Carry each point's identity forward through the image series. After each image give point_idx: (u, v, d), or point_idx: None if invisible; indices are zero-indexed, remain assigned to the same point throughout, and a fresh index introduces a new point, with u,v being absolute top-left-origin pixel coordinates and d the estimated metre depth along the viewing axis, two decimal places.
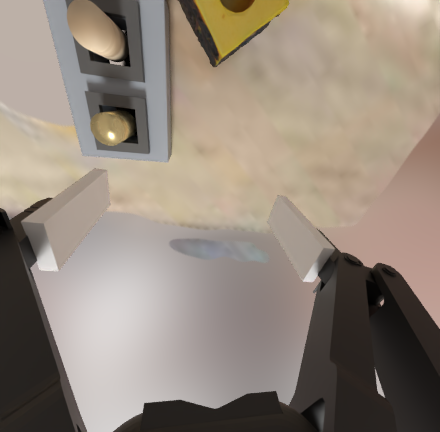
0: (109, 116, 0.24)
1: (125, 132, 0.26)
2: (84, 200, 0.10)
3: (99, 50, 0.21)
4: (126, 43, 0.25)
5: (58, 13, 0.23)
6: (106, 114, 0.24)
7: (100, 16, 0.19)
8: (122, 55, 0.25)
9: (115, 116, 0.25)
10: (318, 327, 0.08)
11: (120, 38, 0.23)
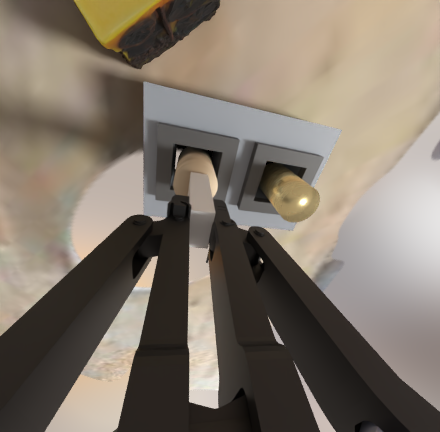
0: (286, 197, 0.18)
1: (305, 183, 0.18)
2: None
3: (217, 182, 0.17)
4: (196, 148, 0.21)
5: None
6: (283, 200, 0.18)
7: (187, 170, 0.16)
8: (208, 156, 0.21)
9: (285, 190, 0.18)
10: (219, 302, 0.08)
11: (197, 153, 0.19)
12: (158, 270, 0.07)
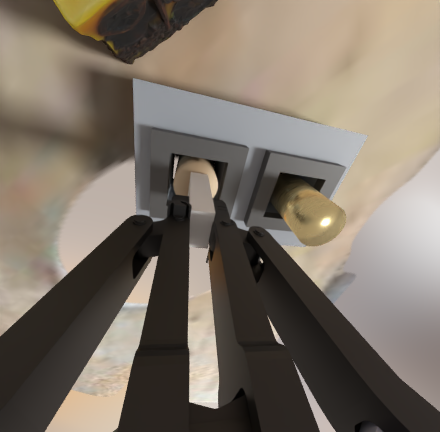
0: (306, 219, 0.14)
1: (329, 200, 0.15)
2: None
3: (217, 182, 0.17)
4: None
5: None
6: (302, 222, 0.15)
7: (187, 170, 0.16)
8: None
9: (305, 209, 0.15)
10: (219, 302, 0.08)
11: None
12: (158, 270, 0.07)
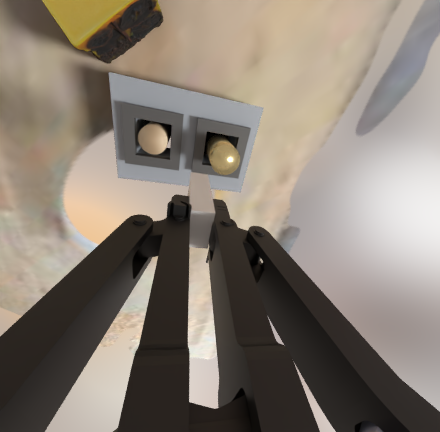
0: (214, 154, 0.25)
1: (229, 144, 0.25)
2: None
3: (166, 137, 0.27)
4: None
5: (142, 172, 0.31)
6: (212, 156, 0.25)
7: (146, 129, 0.26)
8: (166, 126, 0.31)
9: (214, 149, 0.25)
10: (219, 302, 0.08)
11: (156, 122, 0.29)
12: (158, 270, 0.07)
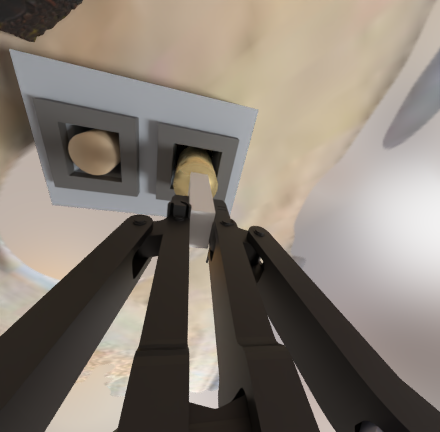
0: (177, 177, 0.16)
1: (201, 162, 0.17)
2: None
3: (112, 152, 0.18)
4: None
5: (86, 198, 0.22)
6: (175, 180, 0.17)
7: (79, 139, 0.17)
8: None
9: (178, 169, 0.17)
10: (219, 302, 0.08)
11: None
12: (158, 270, 0.07)
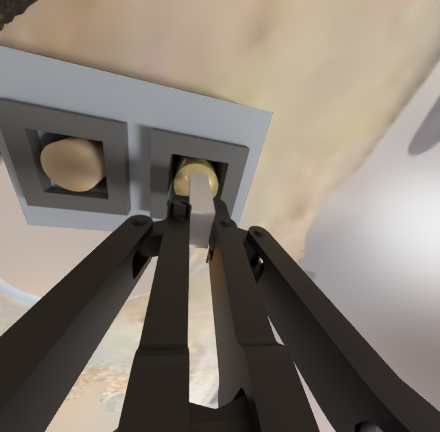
0: (178, 177, 0.16)
1: (201, 162, 0.17)
2: None
3: (95, 164, 0.15)
4: None
5: (68, 216, 0.18)
6: (175, 180, 0.17)
7: (53, 150, 0.14)
8: None
9: (179, 169, 0.17)
10: (219, 302, 0.08)
11: None
12: (158, 270, 0.07)
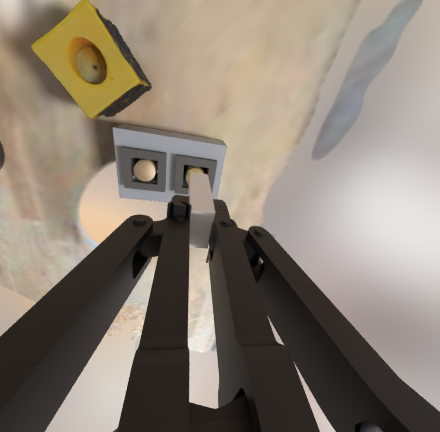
0: (187, 174, 0.38)
1: (197, 167, 0.39)
2: None
3: (154, 169, 0.37)
4: None
5: (137, 193, 0.41)
6: (186, 175, 0.38)
7: (139, 164, 0.36)
8: None
9: (187, 171, 0.39)
10: (219, 302, 0.08)
11: None
12: (158, 270, 0.07)
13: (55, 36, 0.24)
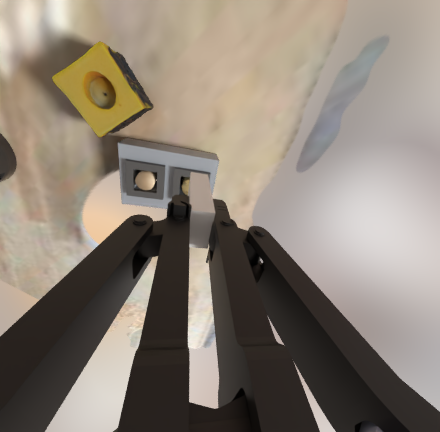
0: (183, 184, 0.43)
1: None
2: None
3: (153, 180, 0.42)
4: None
5: (138, 200, 0.45)
6: (182, 186, 0.43)
7: (140, 175, 0.41)
8: None
9: (183, 181, 0.43)
10: (219, 302, 0.08)
11: None
12: (158, 270, 0.07)
13: (73, 70, 0.29)
